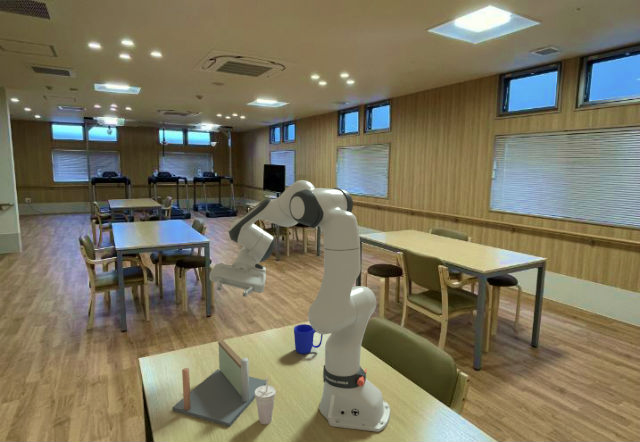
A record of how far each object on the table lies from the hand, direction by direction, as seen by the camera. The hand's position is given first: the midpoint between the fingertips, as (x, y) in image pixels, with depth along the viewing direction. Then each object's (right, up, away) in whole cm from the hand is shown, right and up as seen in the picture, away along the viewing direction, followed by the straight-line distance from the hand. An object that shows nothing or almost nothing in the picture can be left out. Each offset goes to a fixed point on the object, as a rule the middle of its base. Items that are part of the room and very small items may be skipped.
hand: (231, 292), depth 134 cm
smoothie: (+14, -36, -17) cm, 42 cm away
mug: (+26, -30, +26) cm, 47 cm away
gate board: (-2, -34, -5) cm, 35 cm away
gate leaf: (0, -31, 0) cm, 31 cm away
